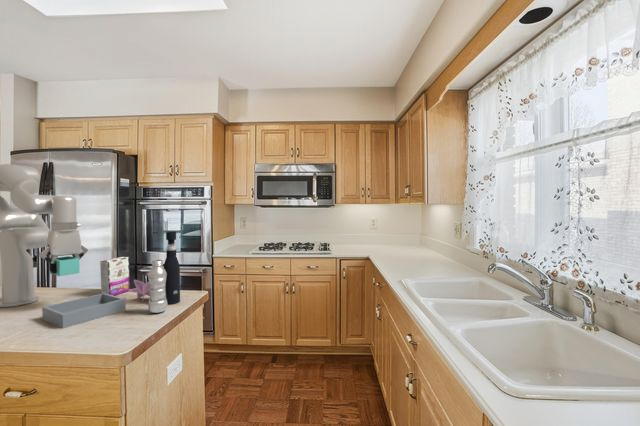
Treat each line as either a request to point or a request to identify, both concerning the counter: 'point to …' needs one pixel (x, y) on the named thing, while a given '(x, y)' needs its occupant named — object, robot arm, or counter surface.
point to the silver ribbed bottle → (157, 287)
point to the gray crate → (83, 309)
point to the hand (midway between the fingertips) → (64, 271)
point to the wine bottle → (172, 271)
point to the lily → (141, 289)
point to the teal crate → (67, 266)
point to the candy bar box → (115, 276)
